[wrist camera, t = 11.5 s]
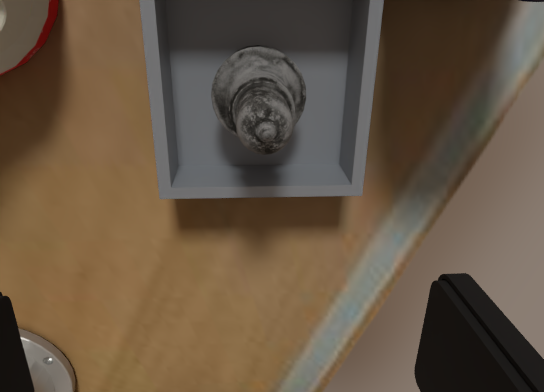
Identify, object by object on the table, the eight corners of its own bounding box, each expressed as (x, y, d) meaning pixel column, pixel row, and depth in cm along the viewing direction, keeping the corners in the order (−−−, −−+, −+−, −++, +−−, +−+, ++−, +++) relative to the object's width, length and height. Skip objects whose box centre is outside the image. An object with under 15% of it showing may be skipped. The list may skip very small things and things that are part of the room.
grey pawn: (302, 42, 29) (340, 71, 18) (296, 128, 32) (326, 198, 21) (213, 38, 29) (198, 66, 18) (214, 125, 31) (201, 196, 20)
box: (345, 169, 35) (361, 195, 30) (170, 171, 34) (159, 199, 29) (363, -25, 29) (387, -28, 24) (152, -29, 28) (136, -33, 23)
